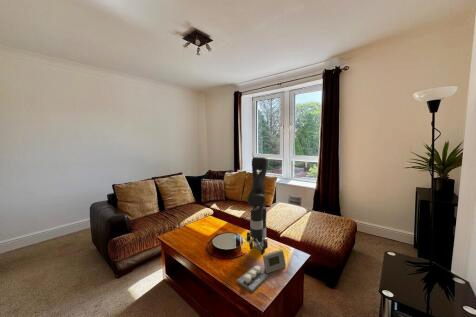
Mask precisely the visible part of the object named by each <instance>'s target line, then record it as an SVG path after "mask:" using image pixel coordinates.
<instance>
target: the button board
mask: <svg viewBox="0 0 476 317" xmlns="http://www.w3.org/2000/svg"><path fill="white" fill-rule="evenodd" d="M250 270H254V266H252V267H251V268H249V269H248V270H247V271H246V272H244V274H242V275H241V276H240V277H239V278H237V279H236V282H237V284H239V285H240V286H242V287H244V288H245V289H247V291H249V292H251V293H254V292H255V290H257V288H258V287H259V286H261V285H262V284H263V283H264V282H265V281H266V279H268V277H269V275H268V273H266V272H264V271H262V270H261V272H260V274H259V275H256V277H255V279H251V281H250V283H249V284H246V283H245V281H244V275H245V274H249V271H250Z"/></svg>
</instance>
